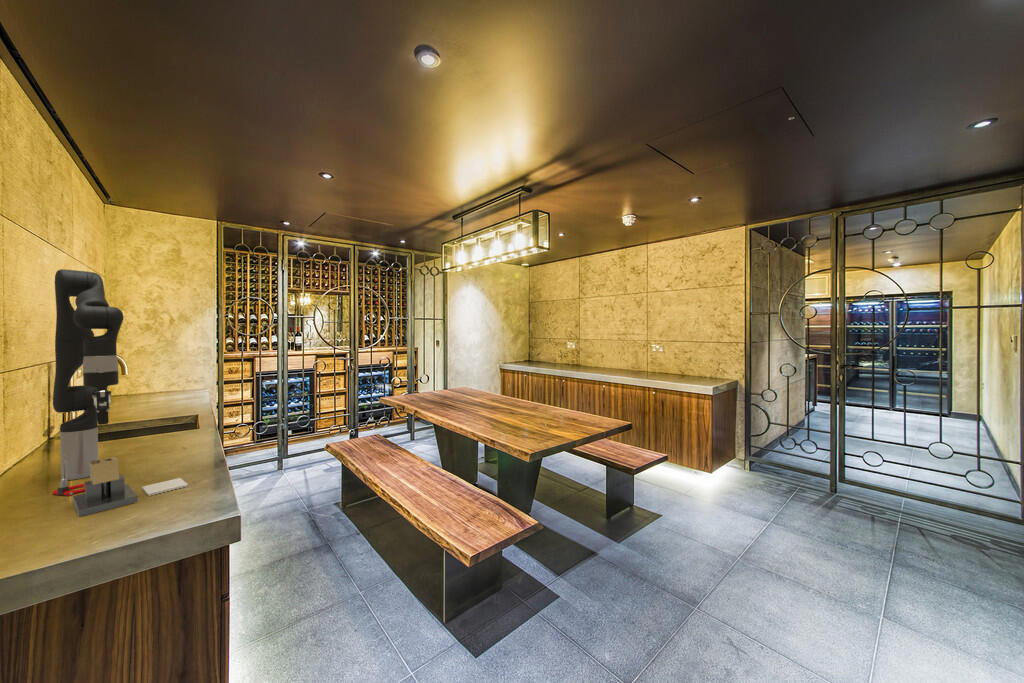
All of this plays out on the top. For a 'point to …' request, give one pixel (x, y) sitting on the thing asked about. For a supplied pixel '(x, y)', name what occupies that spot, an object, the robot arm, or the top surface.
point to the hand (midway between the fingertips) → (102, 422)
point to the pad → (164, 486)
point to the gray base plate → (103, 496)
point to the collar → (104, 470)
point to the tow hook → (66, 482)
